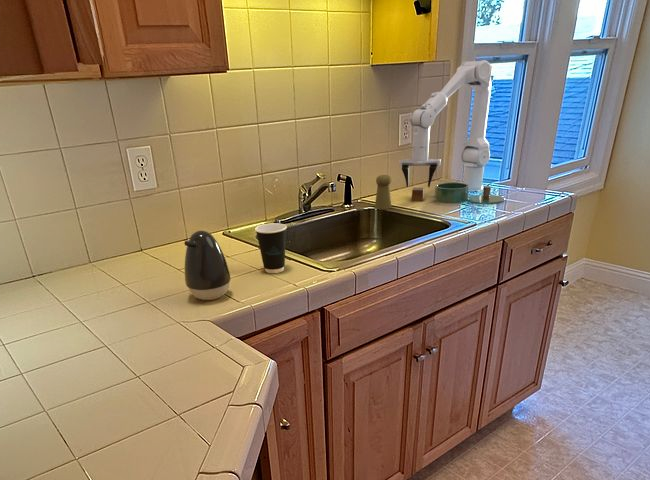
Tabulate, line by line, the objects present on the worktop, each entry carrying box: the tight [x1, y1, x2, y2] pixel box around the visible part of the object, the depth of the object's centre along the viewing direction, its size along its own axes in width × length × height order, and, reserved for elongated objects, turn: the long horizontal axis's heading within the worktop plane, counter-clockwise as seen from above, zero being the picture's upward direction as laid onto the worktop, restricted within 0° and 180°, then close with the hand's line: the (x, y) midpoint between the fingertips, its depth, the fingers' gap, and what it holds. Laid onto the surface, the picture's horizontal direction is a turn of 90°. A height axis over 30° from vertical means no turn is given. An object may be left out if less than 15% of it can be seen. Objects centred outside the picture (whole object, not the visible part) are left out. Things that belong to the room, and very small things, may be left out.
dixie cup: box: [254, 222, 288, 274], centre depth 126 cm, size 8×8×11 cm
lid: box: [467, 185, 505, 205], centre depth 177 cm, size 12×12×5 cm
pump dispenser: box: [183, 230, 232, 301], centre depth 112 cm, size 10×10×15 cm
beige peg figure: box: [374, 174, 393, 210], centre depth 177 cm, size 6×6×11 cm
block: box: [411, 187, 425, 202], centre depth 185 cm, size 4×4×4 cm
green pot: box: [434, 182, 469, 205], centre depth 180 cm, size 11×11×6 cm
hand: (418, 186), depth 184 cm, fingers open, 7 cm apart
